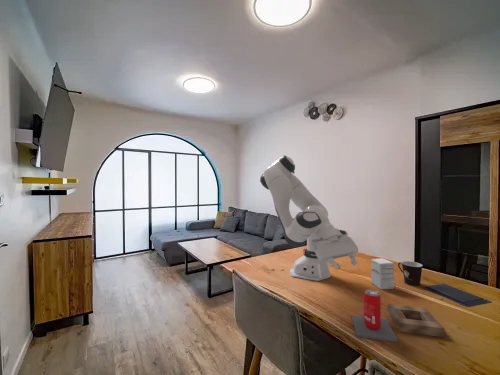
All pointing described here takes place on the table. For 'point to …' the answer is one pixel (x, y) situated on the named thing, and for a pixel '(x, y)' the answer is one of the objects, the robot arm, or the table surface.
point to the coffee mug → (411, 272)
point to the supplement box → (382, 273)
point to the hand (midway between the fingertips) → (347, 266)
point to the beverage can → (372, 310)
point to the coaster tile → (381, 334)
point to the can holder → (422, 326)
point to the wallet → (456, 295)
